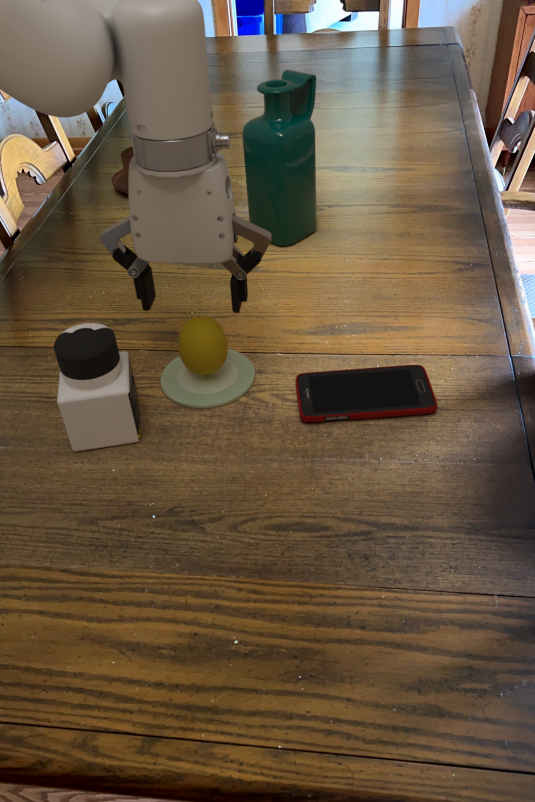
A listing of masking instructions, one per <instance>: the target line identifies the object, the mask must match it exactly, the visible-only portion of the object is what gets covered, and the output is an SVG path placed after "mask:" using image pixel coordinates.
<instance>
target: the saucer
mask: <svg viewBox="0 0 535 802" xmlns="http://www.w3.org/2000/svg"><path fill="white" fill-rule="evenodd" d="M255 380H256V369H255V366H254V364H253V362H252V361H251V360H250V358H248V357H247V356H246V355H245V354H243V353H242V352H239V351H237V350H234V349H230V348H228V353H227V358H226V361H225V363H224V365H223V366H222V367H221V368H220V369H219V370H218V371H216V372H215V373H213V374H209V375H199V374H195V373H193V372H191V371H190V370H189V369H188V368H187V367H186V366H185V365H184V363H183V362H182V360H181V358H180V355H178V356H177V357H175V358H174V359H172V360H171V361H170V362H169V363H168V364H167V365H166V366H165V367H164V369H163V370H162V372H161V375H160V381H159V382H160V387H161V390H162V393H163V394H164V395H165V397H167V399H169V401H171V402H173V403H175V404H177V405H179V406H182V407H187V408H191V409H210V408H211V409H213V408H219V407H222V406H226V405H228V404H230V403H231V404H232V403H233V402H235V401H237V400H238V399H239V400H240V399H241V398H242V397H243V396H244V395H246V394H247V393H248V392H249V391H250V390H251V388H252V386H253V385H254V382H255Z"/></svg>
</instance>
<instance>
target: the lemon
mask: <svg viewBox="0 0 535 802" xmlns="http://www.w3.org/2000/svg"><path fill="white" fill-rule="evenodd" d="M177 346H178V347H177V348H178V354H179V355H178V356H180V358H181V360H182V362H183V363H184V365H185V366H186V367H187V368H188V369H189V370H190V371H191V372H193V373H195V374H199V375H209V374H213V373H215V372H216V371H218V370H219V369H220V368H221V367H222V366H223V365H224V363H225V361H226V358H227V353H228V349H229V344H228V339H227V335H226V332H225V331H224V328H223V326H222V325H221V324H220V323H219V322H218V321H217V319H215V318H213V317H211V316H208V315H201V314H198V315H195V316H193V317H191V318H189V319H187V320H186V321H185V322H184V323H183V324H182V326H181V328H180V330H179V334H178V339H177Z"/></svg>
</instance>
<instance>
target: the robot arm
mask: <svg viewBox="0 0 535 802" xmlns="http://www.w3.org/2000/svg"><path fill="white" fill-rule="evenodd" d="M112 81H119V82H120V84H122V88H123V94H124V101H125V107H126V113H127V119H128V125H129V133H130V139H131V147H132V146H133V152H134V156H133V157H132V159H131V161H130V164H129V178H128V193H129V194H128V193H127V194H128V213H129V215H128V216H127V217H125V218H123V219H121V220H119V221H117V222H116V223H113V224H112V225H110V226H108V227H106V228H104V229H103V231H102V232H101V234H100V236H99V240H100V242H101V243H102V244H103V246H104V247H105V248H106V249H107V251H108V252H109V253H110V254H111V256H112V259H113V260H114V262H116V263H117V264H119V266H121V267H122V268H124V270H125V271H127V275H128V276H129V277H130V278H132V279H133V283H134V289H135V295H136V298H137V300H140V302H141V307H142V308H141V309H142V311H144V312H149V311H151V309H152V307H153V304H154V302H155V299H156V295H157V293H156V287H155V281H154V275H153V269H152V266H150V263H154V264H155V263H156V264H157V263H159V264H199V265H200V264H201V265H202V264H203V265H205V264H206V265H207V264H209V265H211V264H213V265H214V264H217V265H218V264H221V265H222V266H223V267H224V268H225V269H226V271H228V272H229V273H230V274H231V276H230V280H229V288H230V299H231V311H232V312H233V313H234V314H240V313H241V308H242V304H243V303H247V302H248V299H249V298H248V297H249V291H248V290H249V288H248V274H249V273H251V272H252V271H253V270H254V269H255V268H256V267H257V266H258V265H259V264H260V263H261V261H262V259H263V257H264V255H265V253H266V252H267V250H268V248H269V246H270V245H271V243H270V241H271V237H272V235H271V233H270V232H269V231H267V230H265V229H263V228H261V227H259V226H257V225H255V224H252V223H250V222H249V220H246V219H244V218H242V217H240V216H238V215H237V210H236V209H237V208H236V203H235V197H234V191H233V190H234V189H233V185H232V179H231V175H230V171H229V167H228V166H229V165H228V163H227V160H226V157H225V155H224V154H223V153H221V152H219V151H222V150H230V149H231V135H230V133H222V131H218V128H216V122H214V119H213V118H214V116H213V106H212V105H213V104H212V95H211V94H212V93H211V83H210V70H209V60H208V47H207V36H206V24H205V17H204V10H203V7H202V5H201V2H199V0H0V91H2V92H3V93H5V94H6V95H8V96H9V97H10V98H12V99H14V100H15V101H17V102H19V103H20V104H22V105H24V106H26V107H28V108H30V109H32V110H33V111H36V112H39V113H41V114H44V115H47V116H49V117H55V118H72V117H77V116H81V115H83V114H85V113H87V112H89V111H90V110H92V109H93V108H94V107H95V106H96V105H97V104H98V102H99V101H100V100H101V98H102V97H103V96H104V93H105V90H106V89H107V87H108V84H110V83H111V82H112ZM130 234H131V241H132V246H133V250H132V249H130V248H129V247H128V246H127V245H125V244H123V241H122V240H121V239H122V238H124V237H126V236H128V235H130ZM239 237H241V238H243V239H245V240H248V241H250V242H251V243H253V246H252V247H251V249H249V250H248V251H247V252H246V253H245V254H244V253H243V252H242V250H241V249H240V248H238V247H237V245H236V244H237V243H238V238H239Z"/></svg>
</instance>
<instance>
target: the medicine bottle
mask: <svg viewBox="0 0 535 802" xmlns="http://www.w3.org/2000/svg"><path fill="white" fill-rule="evenodd" d="M53 351H54V355H55V358H56V361H57V363H58V368H59V376H58V377H59V378H58V386H57V396H56V397H57V398H56V403H57V407H58V410H59V412H60V416H61V419H62V421H63V425H64V427H65V431H66V434H67V437H68V440H69V444H70V446H71V449H72V451H73V452H77V453H78V452H84V451H89V450H96V449H102V448H109V447H116V446H122V445H128V444H129V445H130V444H135V443H139V442H140V441H141V439H142V438H141V437H142V436H141V416H140V415H141V414H140V413H141V412H140V398H139V394H138V390H137V386H136V381H135V377H134V372H133V367H132V363H131V358H130V355H129V352H128V351H125V350H123V351H119V346H118V342H117V338H116V334H115V332H114V330H113V329H111V328H110V327H108V326H107V325H105V324H102V323H98V322H84V323H79V324H75V325H73V326H70V327H68V328H66V329H64V330H63V331H62V332H61V333H59V335H58V336H57V337H56V339H55V341H54V343H53Z"/></svg>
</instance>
